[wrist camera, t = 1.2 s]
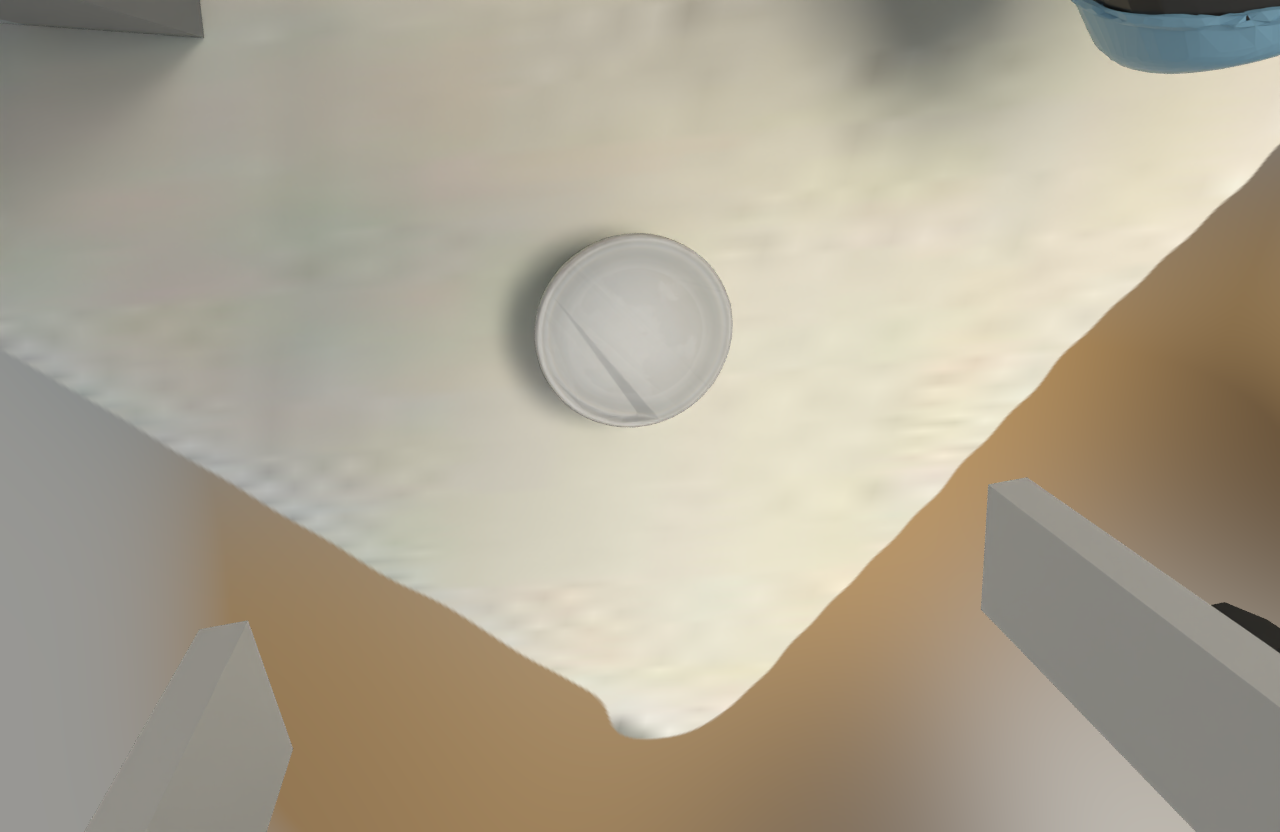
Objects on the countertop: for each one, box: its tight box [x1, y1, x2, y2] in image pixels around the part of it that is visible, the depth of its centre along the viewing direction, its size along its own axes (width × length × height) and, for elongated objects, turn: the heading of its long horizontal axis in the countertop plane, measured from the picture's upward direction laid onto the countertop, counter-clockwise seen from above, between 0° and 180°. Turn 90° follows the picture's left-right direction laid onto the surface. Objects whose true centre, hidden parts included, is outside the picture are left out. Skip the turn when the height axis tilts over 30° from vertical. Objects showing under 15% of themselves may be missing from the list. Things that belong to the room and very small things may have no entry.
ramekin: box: [534, 233, 733, 427], centre depth 47 cm, size 11×11×5 cm
